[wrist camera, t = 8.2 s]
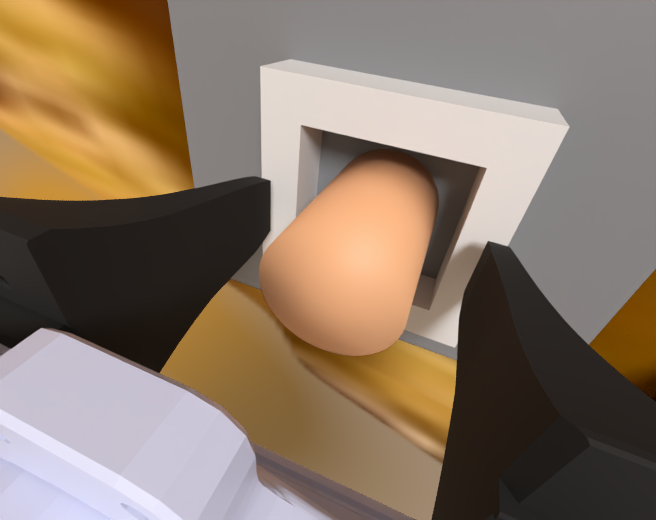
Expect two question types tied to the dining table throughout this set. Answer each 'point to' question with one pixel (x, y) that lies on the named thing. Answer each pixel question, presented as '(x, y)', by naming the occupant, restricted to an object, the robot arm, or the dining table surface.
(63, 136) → the dining table surface
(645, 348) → the dining table surface
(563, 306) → the dock board
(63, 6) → the dining table surface
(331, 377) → the dining table surface
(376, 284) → the peach rounded egg part
